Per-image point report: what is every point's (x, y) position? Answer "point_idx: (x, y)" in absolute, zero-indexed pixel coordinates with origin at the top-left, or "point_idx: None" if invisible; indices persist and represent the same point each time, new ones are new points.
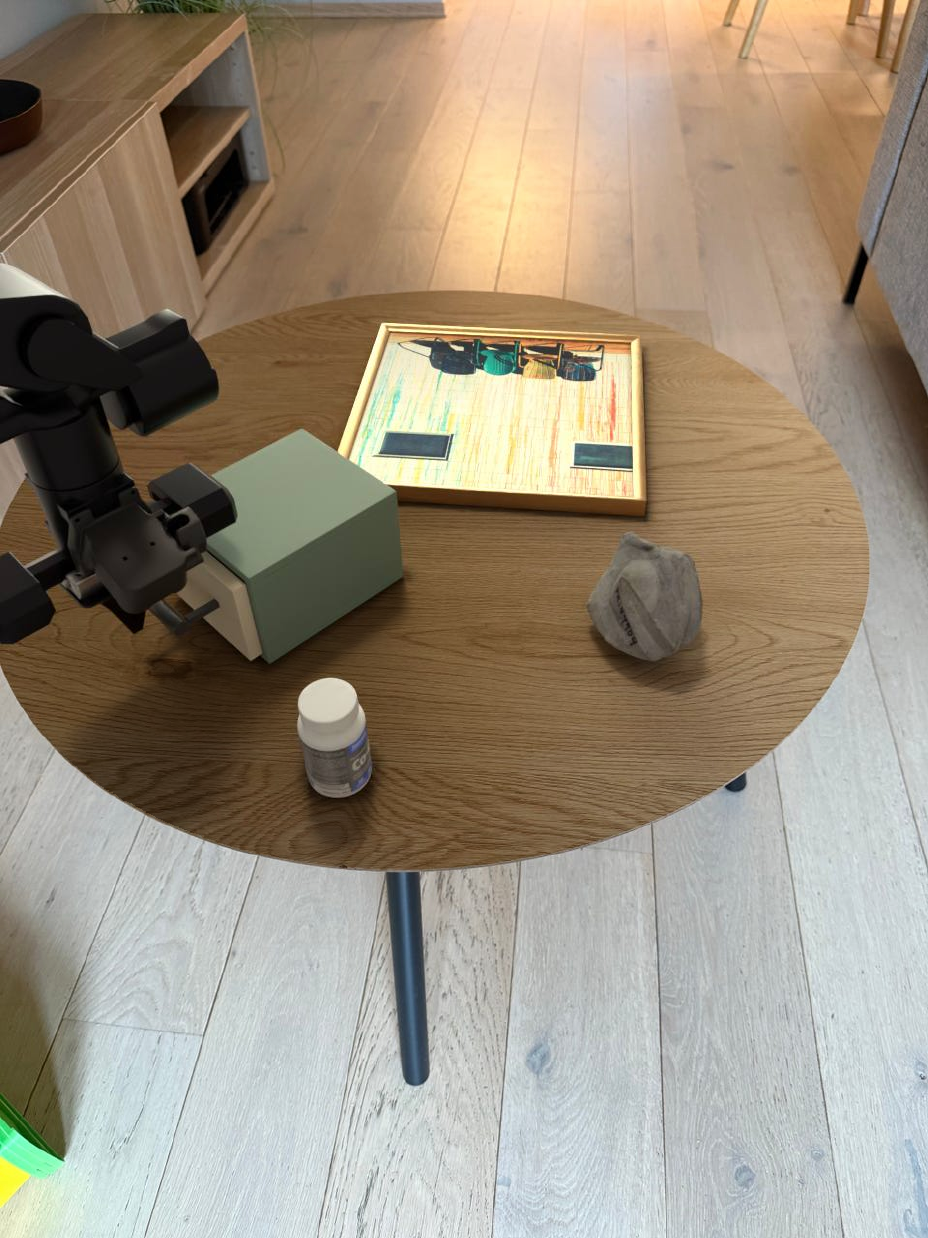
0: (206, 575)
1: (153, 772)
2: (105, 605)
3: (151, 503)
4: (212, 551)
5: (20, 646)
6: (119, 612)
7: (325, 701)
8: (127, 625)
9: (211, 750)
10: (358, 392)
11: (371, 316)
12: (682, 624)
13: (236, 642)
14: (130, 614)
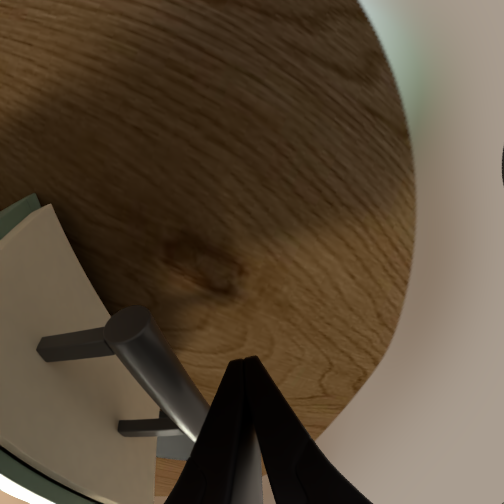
0: (28, 427)
1: (321, 36)
2: (357, 496)
3: (170, 458)
4: (7, 467)
5: (366, 369)
6: (297, 445)
7: None
8: (273, 388)
9: (195, 22)
10: None
11: None
12: None
13: (59, 252)
14: (258, 422)
